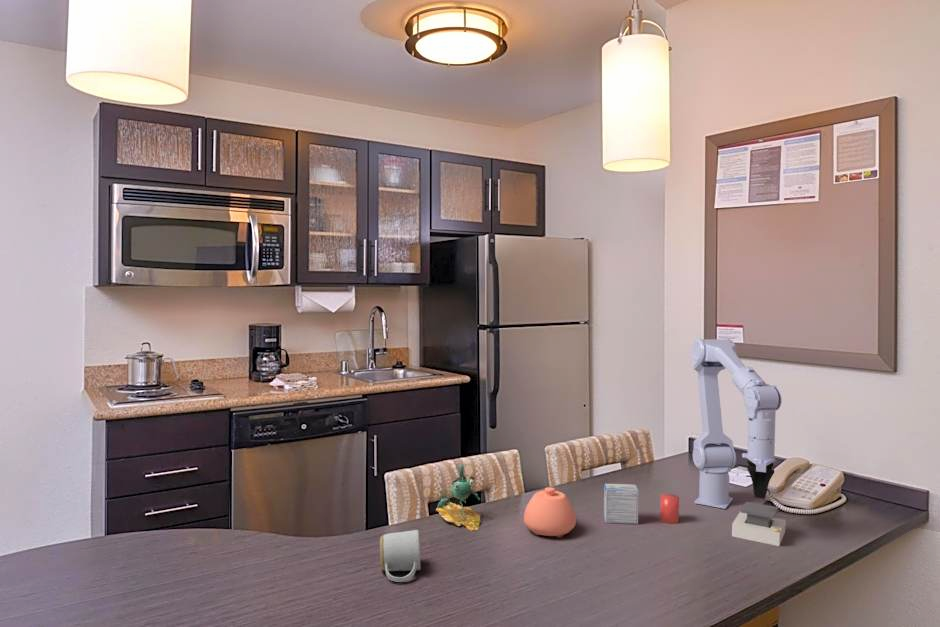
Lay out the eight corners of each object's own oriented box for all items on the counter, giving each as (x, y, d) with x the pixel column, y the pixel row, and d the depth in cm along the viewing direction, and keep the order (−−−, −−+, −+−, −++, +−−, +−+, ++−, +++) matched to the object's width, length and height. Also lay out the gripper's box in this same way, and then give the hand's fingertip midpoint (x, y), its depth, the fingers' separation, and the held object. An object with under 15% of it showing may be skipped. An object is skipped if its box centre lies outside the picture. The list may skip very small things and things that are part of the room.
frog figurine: (461, 504, 169) (465, 451, 167) (493, 535, 153) (497, 477, 151) (427, 509, 164) (431, 454, 162) (456, 542, 149) (461, 481, 147)
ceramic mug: (380, 562, 133) (380, 526, 132) (419, 559, 134) (419, 524, 134) (379, 586, 122) (379, 547, 122) (422, 584, 123) (422, 545, 123)
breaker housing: (740, 523, 156) (740, 508, 156) (785, 532, 151) (785, 517, 151) (731, 536, 148) (732, 521, 148) (779, 546, 142) (779, 530, 142)
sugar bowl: (519, 538, 146) (520, 494, 146) (528, 517, 160) (529, 476, 159) (573, 543, 143) (574, 498, 143) (578, 521, 157) (578, 480, 156)
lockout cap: (663, 516, 161) (663, 492, 161) (680, 519, 158) (681, 496, 158) (657, 521, 157) (658, 497, 157) (675, 525, 155) (676, 500, 154)
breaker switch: (745, 516, 154) (746, 501, 154) (777, 522, 150) (778, 507, 150) (740, 525, 148) (740, 509, 148) (773, 531, 144) (773, 516, 144)
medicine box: (635, 518, 159) (636, 484, 159) (638, 524, 155) (638, 489, 154) (603, 517, 160) (603, 483, 160) (605, 523, 156) (605, 488, 155)
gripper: (743, 429, 157) (741, 483, 157) (742, 442, 143) (740, 501, 144) (774, 432, 154) (773, 487, 154) (776, 445, 140) (775, 506, 141)
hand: (759, 494), depth 149 cm, fingers open, 4 cm apart
